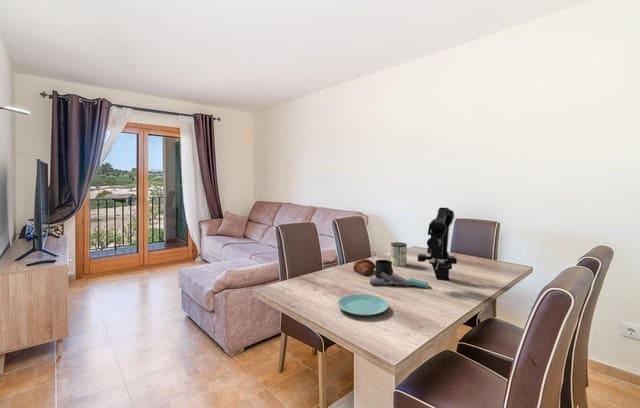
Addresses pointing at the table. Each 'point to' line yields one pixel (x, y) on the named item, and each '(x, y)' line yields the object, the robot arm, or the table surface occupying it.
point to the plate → (363, 304)
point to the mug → (383, 268)
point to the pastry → (364, 266)
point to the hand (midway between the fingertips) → (436, 274)
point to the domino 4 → (418, 283)
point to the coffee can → (398, 254)
